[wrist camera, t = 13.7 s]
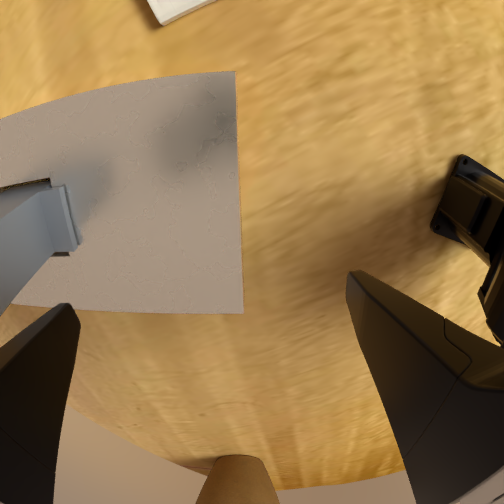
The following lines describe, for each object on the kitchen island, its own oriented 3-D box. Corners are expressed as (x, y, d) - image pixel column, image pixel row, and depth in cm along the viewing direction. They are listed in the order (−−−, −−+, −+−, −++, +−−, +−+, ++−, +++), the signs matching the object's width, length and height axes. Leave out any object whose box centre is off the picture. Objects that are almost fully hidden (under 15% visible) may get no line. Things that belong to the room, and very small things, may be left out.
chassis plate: (236, 73, 16) (235, 71, 14) (244, 296, 24) (243, 313, 22) (-24, 131, 16) (-40, 136, 14) (21, 291, 24) (11, 303, 22)
